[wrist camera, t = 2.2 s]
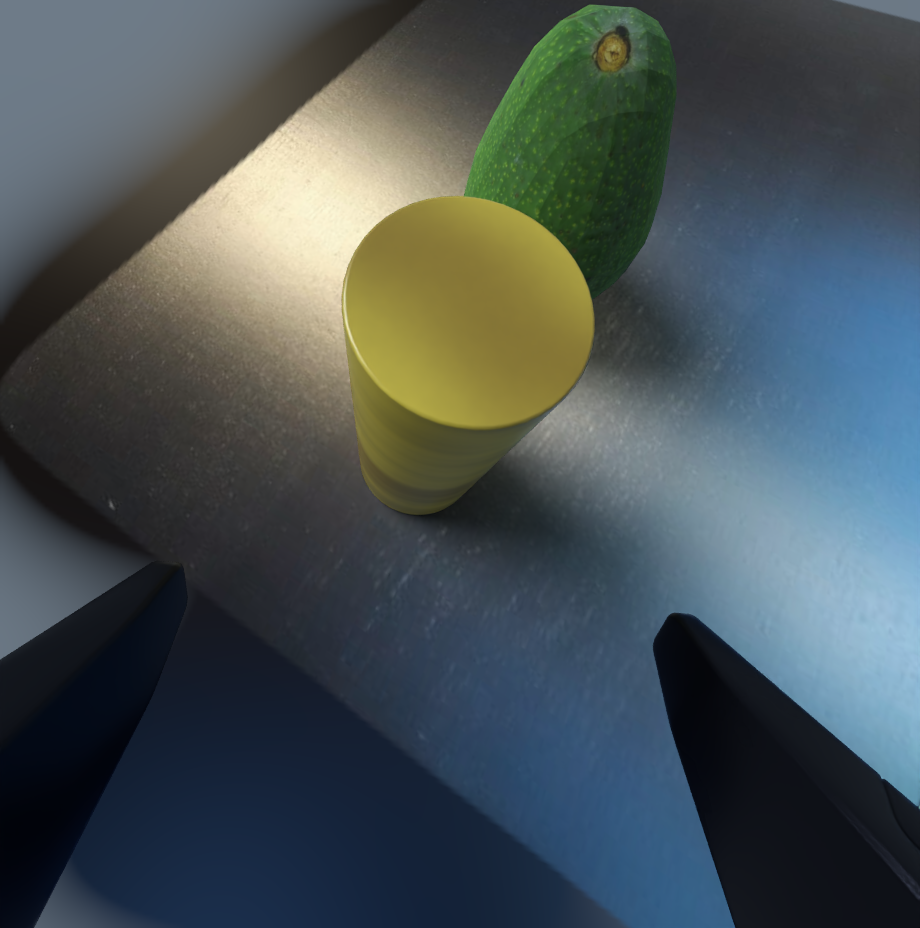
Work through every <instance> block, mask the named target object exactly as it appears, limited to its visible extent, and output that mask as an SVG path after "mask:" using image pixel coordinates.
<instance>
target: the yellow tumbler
mask: <svg viewBox="0 0 920 928" xmlns="http://www.w3.org/2000/svg"><path fill="white" fill-rule="evenodd" d="M342 316H343V325H344V333H345V341H346V349H347V358H348V366H349V374H350V382H351V391H352V399H353V407H354V415H355V424H356V432H357V440H358V448H359V457H360V464H361V470H362V474H363V477H364V479H365V481H366V484H367V485H368V487H369V489H370V490H371V491H372V493H373V494H374V495H375V496H376V497H377V498H378V499H379V500H380V501H381V502H382V503H384V504H385V505H387V506H388V507H390V508H392V509H394V510H396V511H399V512H402V513H406V514H413V515H426V514H431V513H435V512H438V511H441V510H443V509H445V508H447V507H449V506H450V505H452V504H453V503H454V502H456V501H457V500H458V499H459V498H460V497H461V496H462V495H463V494H464V493H465V492H466V491H468V490H469V489H470V488H471V487H472V486H473V485H474V484H475V483H476V482H477V481H478V480H479V479H480V478H481V477H482V476H483V475H484V474H486V473H487V472H488V471H489V470H490V469H491V468H492V467H493V466H494V465H495V464H496V463H497V462H498V461H499V460H500V459H501V458H502V457H503V456H505V455H506V454H507V453H508V452H509V451H510V450H511V449H512V448H513V447H514V446H515V445H516V444H517V443H518V442H519V441H520V440H521V439H522V438H524V437H525V436H526V435H527V434H528V433H529V432H530V431H531V430H532V429H533V428H534V427H535V426H536V425H537V424H538V423H539V422H540V421H542V420H543V419H544V418H545V417H546V416H547V415H548V414H549V413H550V412H551V411H552V410H553V409H554V408H555V407H556V406H557V405H558V404H559V403H561V402H562V401H563V400H564V399H565V398H566V396H567V395H568V394H569V393H570V392H571V391H572V390H573V389H574V387H575V386H576V384H577V383H578V381H579V380H580V378H581V376H582V375H583V373H584V370H585V368H586V366H587V364H588V362H589V358H590V355H591V351H592V347H593V340H594V333H595V317H594V309H593V302H592V299H591V295H590V291H589V288H588V285H587V283H586V280H585V278H584V276H583V274H582V272H581V270H580V268H579V266H578V265H577V263H576V261H575V260H574V258H573V257H572V256H571V254H570V253H569V251H568V250H567V249H566V248H565V246H564V245H563V244H562V243H561V242H560V241H559V240H558V239H557V238H556V237H555V236H554V235H553V234H552V233H551V232H550V231H548V230H547V229H546V228H545V227H544V226H542V225H541V224H539V223H538V222H537V221H535V220H534V219H532V218H531V217H529V216H527V215H525V214H523V213H522V212H520V211H518V210H515V209H513V208H511V207H508V206H506V205H504V204H500V203H497V202H494V201H490V200H486V199H481V198H475V197H464V196H447V197H437V198H431V199H426V200H422V201H419V202H416V203H412V204H410V205H408V206H405V207H403V208H401V209H399V210H397V211H395V212H394V213H392V214H390V215H389V216H387V217H386V218H384V219H383V220H382V221H381V222H379V223H378V224H377V225H376V226H375V227H374V228H373V229H372V230H371V231H370V232H369V233H368V234H367V235H366V236H365V237H364V239H363V240H362V242H361V243H360V245H359V246H358V248H357V249H356V250H355V252H354V254H353V256H352V258H351V261H350V263H349V265H348V268H347V271H346V275H345V278H344V283H343V290H342Z"/></svg>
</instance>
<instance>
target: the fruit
mask: <svg viewBox="0 0 920 928" xmlns="http://www.w3.org/2000/svg"><path fill="white" fill-rule="evenodd" d="M675 101H676V64H675V60H674V57H673V53H672V49H671V45H670V42H669V40H668V38H667V36H666V35H665V33H664V31H663V29H662V28H661V26H660V24H659V23H658V21H657V20H655V19H653V18H652V17H650V16H648V15H647V14H645V13H643V12H641V11H640V10H638V9H636V8H630V7H616V6H601V5H588V6H586V7H585V8H583V9H581V10H579V11H578V12H576V13H574V14H572V15H571V16H569V17H567V18H565V19H564V20H562V21H560V22H559V23H558V24H557V25H556V26H555V27H554V28H553V29H552V30H551V31H550V32H549V33H548V34H547V35H546V36H545V37H544V38H543V39H542V40H541V41H540V42H539V43H538V44H537V45H536V46H535V47H534V48H533V50H532V51H531V53H530V54H529V56H528V57H527V59H526V61H525V62H524V64H523V65H522V67H521V69H520V70H519V72H518V73H517V75H516V76H515V78H514V80H513V81H512V83H511V85H510V87H509V88H508V90H507V92H506V94H505V96H504V97H503V99H502V101H501V103H500V104H499V106H498V108H497V110H496V112H495V113H494V115H493V117H492V119H491V121H490V123H489V125H488V127H487V129H486V131H485V133H484V135H483V137H482V139H481V141H480V143H479V145H478V147H477V149H476V153H475V157H474V160H473V164H472V167H471V171H470V174H469V178H468V181H467V185H466V189H465V193H464V197H475V198H481V199H486V200H490V201H494V202H497V203H500V204H504V205H506V206H508V207H511V208H513V209H515V210H518V211H520V212H522V213H523V214H525V215H527V216H529V217H531V218H532V219H534V220H535V221H537V222H538V223H539V224H541V225H542V226H544V227H545V228H546V229H547V230H548V231H550V232H551V233H552V234H553V235H554V236H555V237H556V238H557V239H558V240H559V241H560V242H561V243H562V244H563V245H564V246H565V248H566V249H567V250H568V251H569V253H570V254H571V256H572V257H573V258H574V260H575V261H576V263H577V265H578V266H579V268H580V270H581V272H582V274H583V276H584V278H585V280H586V283H587V285H588V288H589V291H590V295H591V299H593V298H595V297H597V296H598V295H599V294H601V293H602V292H603V291H605V290H606V289H608V288H609V287H610V286H612V285H613V284H614V283H615V282H616V281H617V280H618V279H619V277H620V276H621V275H622V274H623V273H624V272H625V271H626V270H627V268H628V267H629V265H630V264H631V262H632V261H633V259H634V258H635V257H636V255H637V254H638V252H639V251H640V249H641V248H642V247H643V245H644V244H645V241H646V239H647V236H648V234H649V231H650V229H651V226H652V223H653V220H654V216H655V213H656V210H657V206H658V203H659V200H660V197H661V193H662V187H663V181H664V174H665V168H666V162H667V155H668V149H669V142H670V133H671V127H672V120H673V114H674V107H675Z"/></svg>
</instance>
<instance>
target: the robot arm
mask: <svg viewBox="0 0 920 928" xmlns="http://www.w3.org/2000/svg"><path fill="white" fill-rule="evenodd" d="M187 598H188V597H187V588H186V581H185V573H184V568H183V566H182V564H181V563H178V562H169V561H154V562H152V563H150V564H149V565H147V566H145V567H144V568H142V569H141V570H139V571H138V572H136V573H135V574H133V575H131V576H130V577H128V578H127V579H125V580H124V581H122V582H121V583H119V584H117V585H116V586H114V587H113V588H111V589H110V590H108V591H107V592H105V593H103V594H102V595H101V596H99V597H97V598H96V599H94V600H92V601H91V602H89V603H88V604H86V605H85V606H83V607H82V608H80V609H78V610H77V611H75V612H74V613H72V614H71V615H69V616H68V617H66V618H64V619H63V620H61V621H60V622H58V623H57V624H55V625H54V626H52V627H50V628H49V629H47V630H46V631H44V632H43V633H41V634H39V635H38V636H36V637H35V638H33V639H32V640H30V641H29V642H27V643H25V644H24V645H22V646H21V647H19V648H18V649H16V650H15V651H13V652H11V653H10V654H8V655H7V656H5V657H4V658H2V659H1V660H0V928H34V927H35V925H36V923H37V921H38V919H39V917H40V915H41V913H42V911H43V909H44V907H45V905H46V903H47V902H48V900H49V898H50V896H51V894H52V892H53V890H54V888H55V886H56V884H57V882H58V880H59V877H60V876H61V874H62V872H63V870H64V868H65V866H66V864H67V862H68V860H69V859H70V857H71V855H72V853H73V851H74V849H75V847H76V845H77V843H78V841H79V839H80V837H81V835H82V833H83V831H84V829H85V827H86V825H87V823H88V821H89V819H90V817H91V815H92V813H93V812H94V809H95V808H96V806H97V804H98V802H99V800H100V798H101V796H102V794H103V792H104V790H105V788H106V786H107V784H108V782H109V780H110V778H111V776H112V774H113V773H114V771H115V769H116V766H117V764H118V763H119V761H120V759H121V757H122V755H123V753H124V751H125V749H126V747H127V745H128V743H129V741H130V739H131V737H132V735H133V733H134V731H135V729H136V727H137V725H138V724H139V721H140V720H141V718H142V716H143V714H144V712H145V710H146V708H147V706H148V704H149V701H150V700H151V697H152V695H153V692H154V690H155V688H156V685H157V683H158V680H159V678H160V675H161V673H162V670H163V667H164V665H165V662H166V659H167V657H168V654H169V651H170V649H171V646H172V644H173V641H174V638H175V636H176V633H177V631H178V628H179V625H180V623H181V620H182V617H183V615H184V612H185V609H186V606H187ZM653 651H654V657H655V661H656V666H657V670H658V675H659V679H660V684H661V688H662V693H663V697H664V702H665V706H666V711H667V715H668V719H669V723H670V727H671V731H672V734H673V737H674V741H675V744H676V747H677V750H678V753H679V756H680V759H681V762H682V765H683V769H684V772H685V775H686V778H687V781H688V784H689V787H690V790H691V793H692V796H693V799H694V802H695V805H696V809H697V812H698V815H699V818H700V821H701V824H702V827H703V830H704V833H705V836H706V839H707V842H708V845H709V848H710V852H711V855H712V858H713V861H714V864H715V867H716V870H717V873H718V876H719V879H720V882H721V885H722V888H723V891H724V895H725V898H726V901H727V904H728V907H729V910H730V913H731V916H732V919H733V922H734V925H735V928H920V809H919V808H918V807H917V806H916V805H915V804H913V803H912V802H911V801H910V800H909V799H907V798H906V797H905V796H904V795H903V794H902V793H901V792H899V791H898V790H897V789H896V788H895V787H894V786H892V785H891V784H890V783H889V782H888V781H887V780H885V779H881V776H880V775H879V774H878V773H877V772H876V771H875V770H874V769H872V768H871V767H870V766H869V765H868V764H867V763H865V762H864V761H863V760H862V759H861V758H860V757H858V756H857V755H856V754H855V753H854V752H853V751H852V750H850V749H849V748H848V747H847V746H846V745H845V744H843V743H842V742H841V741H840V740H839V739H838V738H836V737H835V736H834V735H833V734H832V733H831V732H829V731H828V730H827V729H826V728H825V727H824V726H822V725H821V724H820V723H819V722H818V721H817V720H815V719H814V718H813V717H812V716H811V715H810V714H808V713H807V712H806V711H805V710H804V709H803V708H801V707H800V706H799V705H798V704H797V703H796V702H794V701H793V700H792V699H791V698H790V697H789V696H787V695H786V694H785V693H784V692H783V691H782V690H780V689H779V688H778V687H777V686H776V685H775V684H773V683H772V682H771V681H770V680H769V679H768V678H766V677H765V676H764V675H763V674H762V673H761V672H760V671H758V670H757V669H756V668H755V667H754V666H753V665H751V664H750V663H749V662H748V661H747V660H746V659H744V658H743V657H742V656H741V655H740V654H739V653H737V652H736V651H735V650H734V649H733V648H732V647H730V646H729V645H728V644H727V643H726V642H725V641H723V640H722V639H721V638H720V637H719V636H718V635H716V634H715V633H714V632H713V631H712V630H711V629H709V628H708V627H707V626H706V625H705V624H704V623H702V622H701V621H700V620H699V619H698V618H697V617H695V616H694V615H691V614H685V613H672V614H670V615H669V616H668V617H667V619H666V620H665V622H664V624H663V625H662V627H661V629H660V630H659V632H658V634H657V635H656V637H655V639H654V643H653Z"/></svg>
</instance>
